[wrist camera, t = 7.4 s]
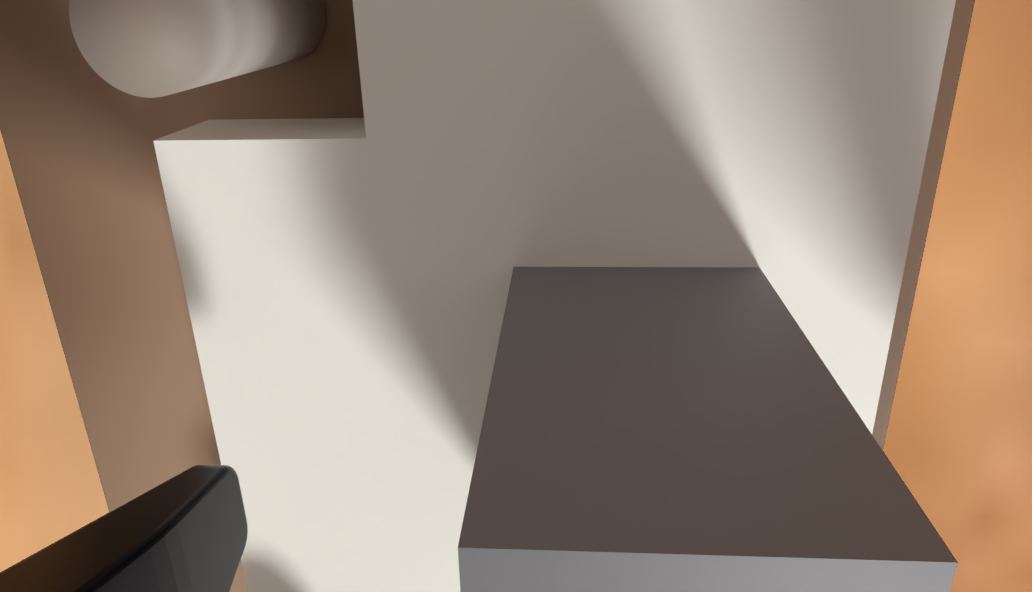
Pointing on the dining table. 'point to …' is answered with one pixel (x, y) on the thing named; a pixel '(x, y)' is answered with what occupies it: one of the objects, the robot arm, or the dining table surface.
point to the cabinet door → (571, 300)
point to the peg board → (142, 205)
